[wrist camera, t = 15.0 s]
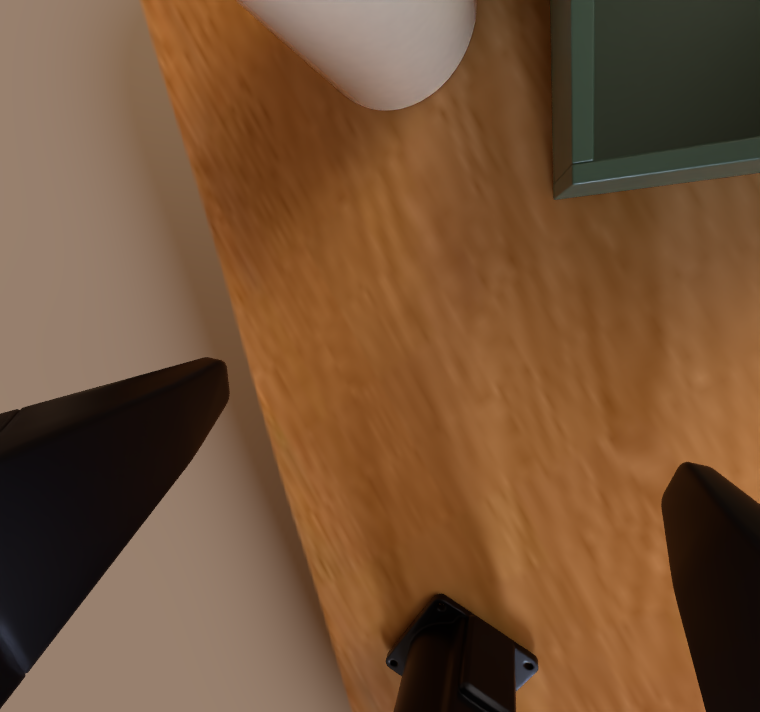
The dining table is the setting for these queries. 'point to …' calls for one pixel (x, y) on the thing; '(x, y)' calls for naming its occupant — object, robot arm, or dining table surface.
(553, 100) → the chest
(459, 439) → the dining table surface
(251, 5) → the cream hollow round container
